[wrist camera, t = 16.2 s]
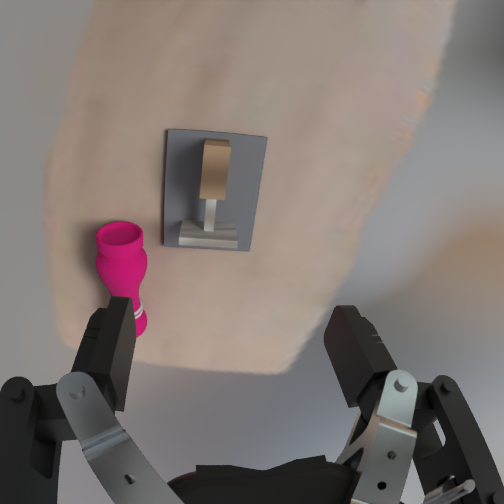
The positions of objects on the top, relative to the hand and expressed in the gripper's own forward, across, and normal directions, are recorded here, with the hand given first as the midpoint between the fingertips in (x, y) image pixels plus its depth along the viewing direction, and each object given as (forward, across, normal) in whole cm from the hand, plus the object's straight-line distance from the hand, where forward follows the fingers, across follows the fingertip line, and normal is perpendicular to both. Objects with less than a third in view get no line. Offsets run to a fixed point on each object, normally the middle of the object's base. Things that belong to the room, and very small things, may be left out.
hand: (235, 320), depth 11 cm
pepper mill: (+24, +12, +9) cm, 29 cm away
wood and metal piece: (+28, 0, +4) cm, 28 cm away
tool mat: (+28, 0, +5) cm, 29 cm away
